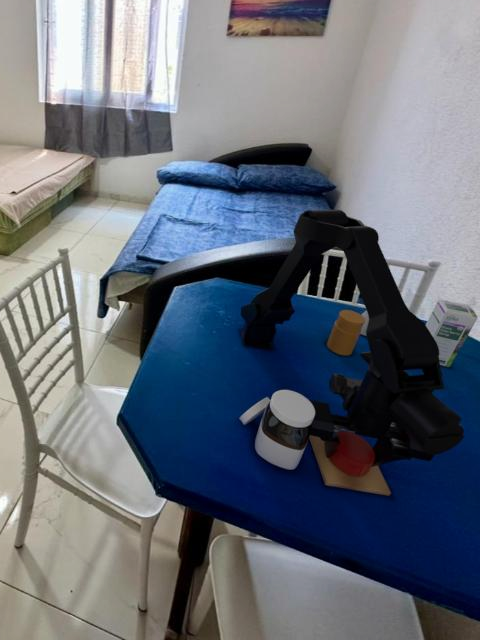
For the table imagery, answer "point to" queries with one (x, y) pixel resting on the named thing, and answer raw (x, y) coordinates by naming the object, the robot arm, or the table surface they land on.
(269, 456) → the spread jar
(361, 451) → the lid
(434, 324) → the syrup box
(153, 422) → the table surface
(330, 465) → the coaster
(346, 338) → the orange pill bottle
